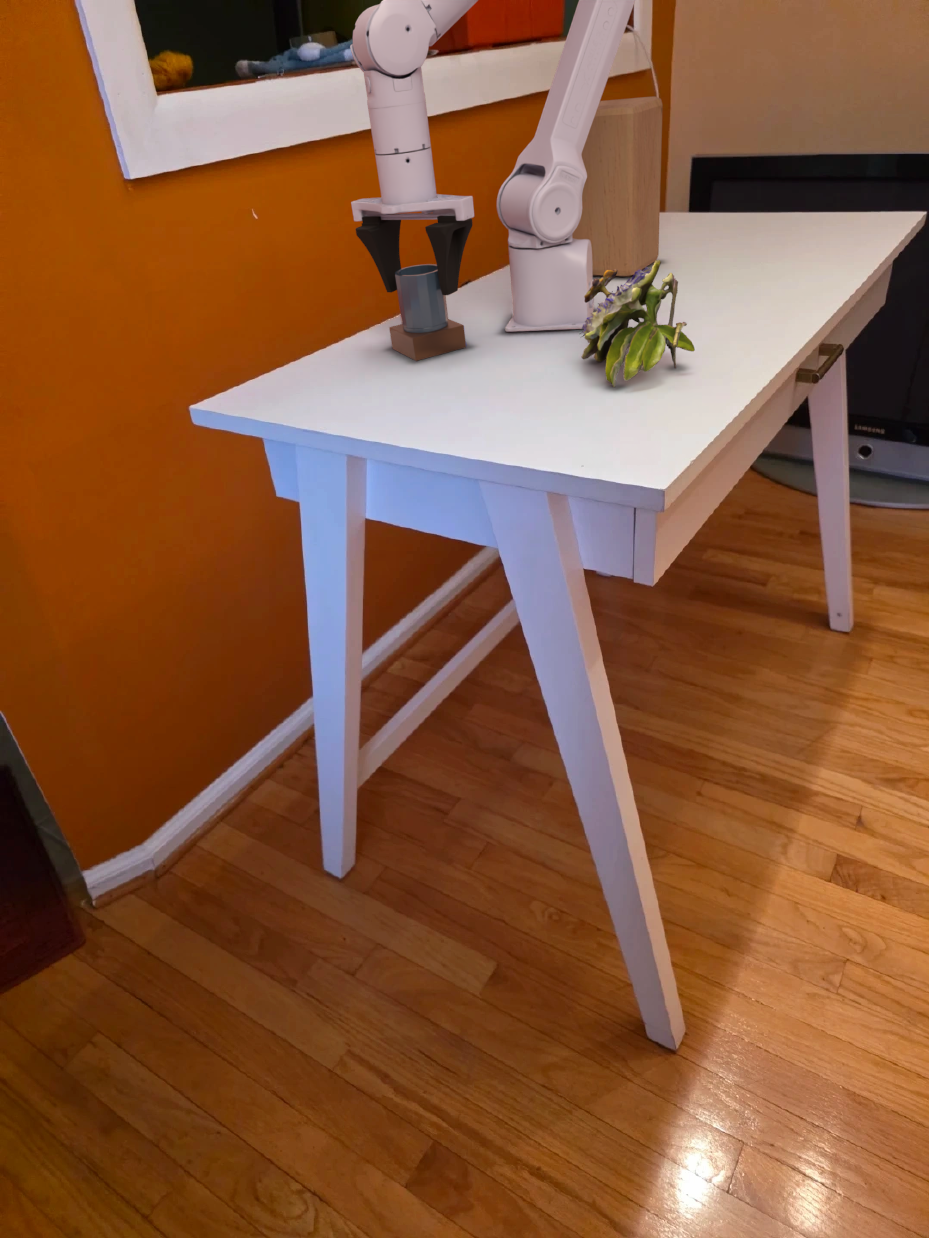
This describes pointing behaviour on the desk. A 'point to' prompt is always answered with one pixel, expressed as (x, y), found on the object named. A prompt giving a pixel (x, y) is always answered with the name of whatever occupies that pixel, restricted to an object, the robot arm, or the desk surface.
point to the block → (428, 341)
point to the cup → (421, 299)
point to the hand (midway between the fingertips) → (421, 291)
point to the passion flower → (643, 340)
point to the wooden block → (622, 185)
